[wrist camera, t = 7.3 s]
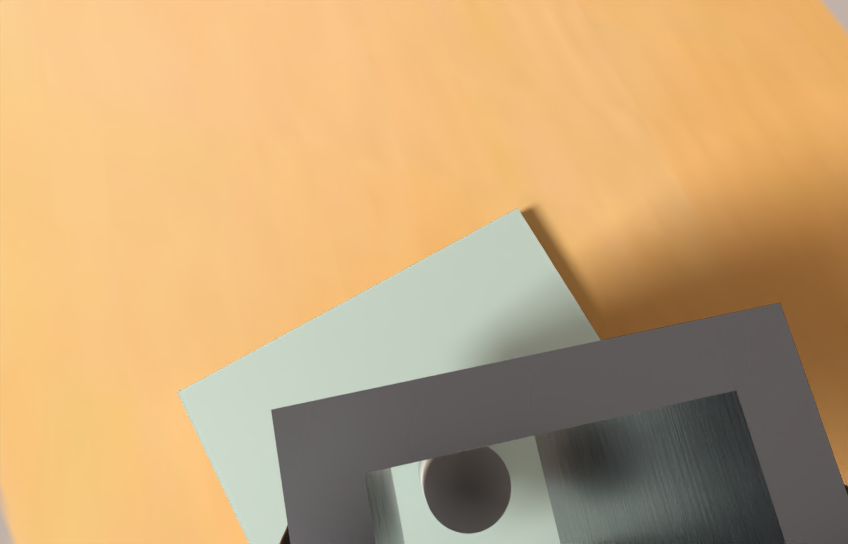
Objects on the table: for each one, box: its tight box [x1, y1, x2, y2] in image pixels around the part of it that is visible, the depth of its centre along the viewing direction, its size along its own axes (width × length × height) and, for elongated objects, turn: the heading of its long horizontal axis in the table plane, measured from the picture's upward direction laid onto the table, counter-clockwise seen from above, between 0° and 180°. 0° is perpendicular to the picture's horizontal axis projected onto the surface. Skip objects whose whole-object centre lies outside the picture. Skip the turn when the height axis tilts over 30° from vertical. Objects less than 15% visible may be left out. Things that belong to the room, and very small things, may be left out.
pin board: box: [177, 208, 600, 544], centre depth 18 cm, size 14×14×5 cm
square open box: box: [271, 303, 848, 544], centre depth 10 cm, size 6×6×10 cm
